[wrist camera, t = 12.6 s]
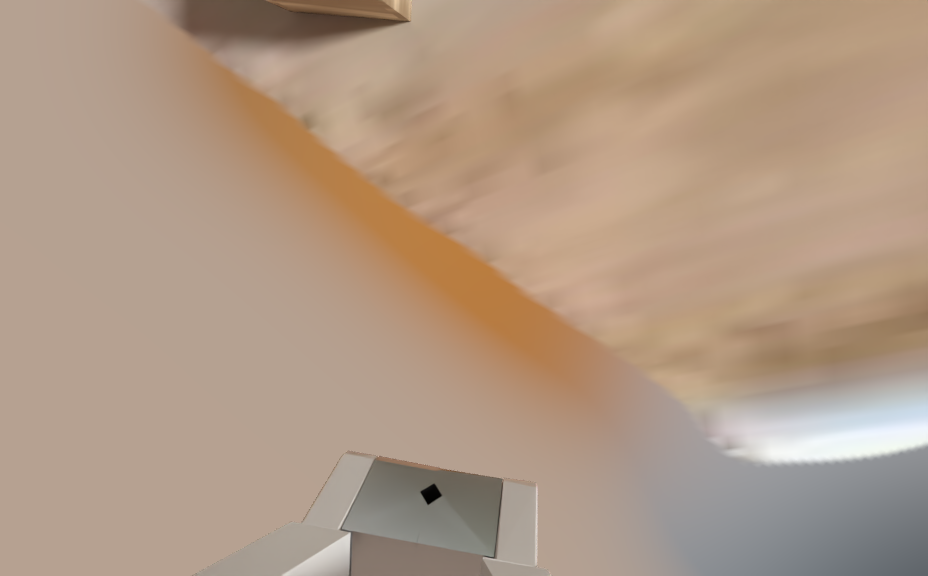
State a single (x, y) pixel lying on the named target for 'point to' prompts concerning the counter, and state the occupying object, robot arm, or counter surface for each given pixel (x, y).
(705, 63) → the counter surface
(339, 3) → the box
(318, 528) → the robot arm
